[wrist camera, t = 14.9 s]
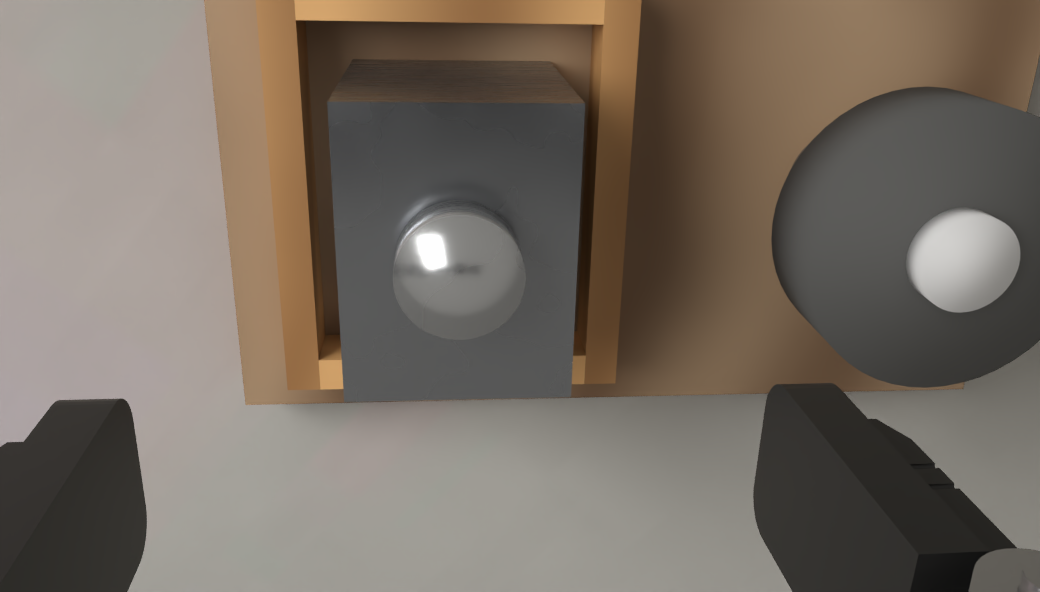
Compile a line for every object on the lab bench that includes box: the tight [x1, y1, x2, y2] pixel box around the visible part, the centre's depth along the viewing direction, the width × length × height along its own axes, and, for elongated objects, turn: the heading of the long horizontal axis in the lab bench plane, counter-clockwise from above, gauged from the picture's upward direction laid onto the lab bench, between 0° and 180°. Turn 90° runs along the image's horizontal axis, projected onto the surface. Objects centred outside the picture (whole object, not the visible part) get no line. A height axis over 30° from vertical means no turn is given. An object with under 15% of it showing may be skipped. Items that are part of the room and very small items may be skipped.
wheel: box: [771, 87, 1040, 388], centre depth 19 cm, size 6×6×3 cm
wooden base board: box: [204, 0, 1040, 405], centre depth 22 cm, size 20×12×4 cm, turn 89°
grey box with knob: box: [327, 59, 585, 402], centre depth 20 cm, size 5×6×6 cm
